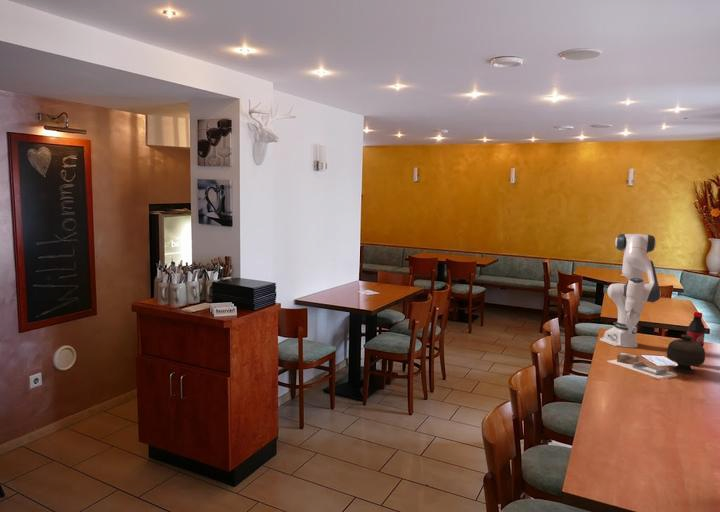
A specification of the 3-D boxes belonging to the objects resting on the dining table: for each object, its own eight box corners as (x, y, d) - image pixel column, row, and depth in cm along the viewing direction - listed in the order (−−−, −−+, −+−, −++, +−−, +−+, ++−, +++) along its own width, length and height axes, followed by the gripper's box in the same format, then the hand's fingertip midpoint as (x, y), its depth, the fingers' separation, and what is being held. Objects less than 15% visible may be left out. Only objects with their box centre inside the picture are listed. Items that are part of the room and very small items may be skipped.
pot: (671, 373, 279) (674, 336, 279) (660, 366, 297) (663, 330, 296) (709, 378, 275) (713, 340, 275) (695, 370, 293) (699, 334, 292)
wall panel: (606, 363, 296) (607, 356, 295) (624, 359, 303) (625, 353, 303) (658, 380, 270) (658, 373, 269) (676, 376, 277) (677, 369, 277)
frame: (616, 361, 295) (617, 353, 294) (618, 359, 299) (619, 351, 299) (636, 365, 289) (637, 357, 289) (638, 363, 293) (639, 355, 293)
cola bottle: (704, 367, 295) (710, 314, 292) (689, 366, 295) (695, 313, 292) (695, 362, 303) (701, 311, 300) (680, 361, 304) (686, 310, 300)
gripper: (637, 311, 281) (634, 336, 282) (643, 306, 297) (640, 330, 299) (624, 309, 284) (621, 334, 286) (630, 304, 301) (628, 328, 302)
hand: (631, 332), depth 292 cm, fingers open, 8 cm apart
